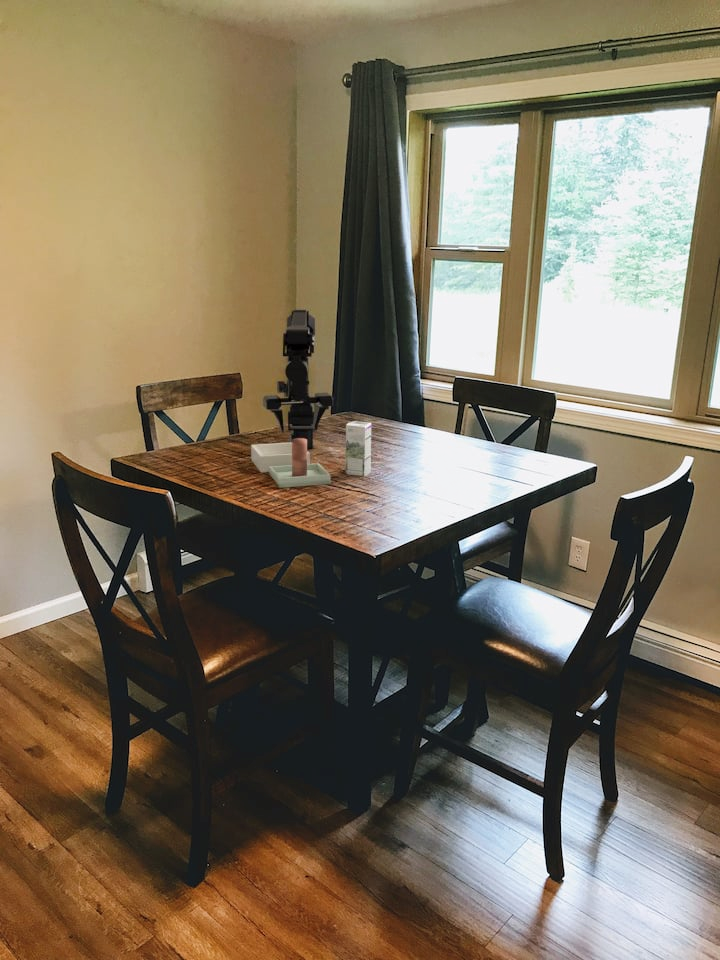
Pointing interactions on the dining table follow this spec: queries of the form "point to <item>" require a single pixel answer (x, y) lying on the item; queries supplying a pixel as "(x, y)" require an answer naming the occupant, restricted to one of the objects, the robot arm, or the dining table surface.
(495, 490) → the dining table surface
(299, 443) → the dowel pin
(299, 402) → the robot arm
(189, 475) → the dining table surface
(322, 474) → the tray
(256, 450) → the square storage bin
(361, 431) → the syrup box
